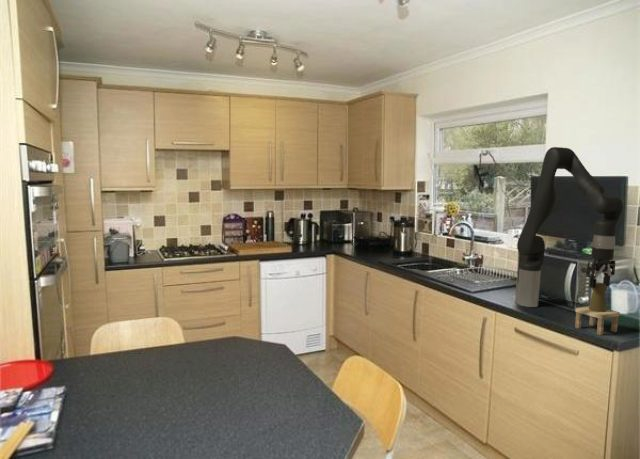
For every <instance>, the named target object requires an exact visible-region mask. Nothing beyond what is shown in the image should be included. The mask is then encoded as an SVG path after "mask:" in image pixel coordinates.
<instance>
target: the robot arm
mask: <svg viewBox="0 0 640 459" xmlns="http://www.w3.org/2000/svg"><path fill="white" fill-rule="evenodd" d="M557 170H565V171H567V172H568V173H569V174H571V175H572V177H573V179H574V184H575V186H576V188H577V189H578V190H579V191H580V192H581V194H583V195H584V196H585V198H586V199H587V202H588V203H589V206H590V207H591V209H592V210H593V211H594V212H596V213H597V214H599V215H603V217H602V218H601V219H598V220H596V222H595V224H594V232H593V233H594V234H593V238H592V247H591V255H590V256H591V258H593V261H588V262H587V265H586V266H587V267H586V274H585V277H587V278H589V284H588V285H589V288H591V289H592V288H596V283H597V278H598V276H599V275H601V274H602V275H603V280H602V283H604V284H606V286H607V287H609V286H610V283H611V278H612V276H615V272H616V260H614V257H615V246H616V230H617V229H616V228H617V225H618V222H619V221H620V220H619V219H620V216H621V215H622V212H623V209H624V205H623V204H624V203H623V201H622V199H621V198H620V197H619V196H618V195H617V196H616V195H604V193H605V188H604V186H603V185H602V184H601V183H600V182H599V181H598V180H597V179H596V178H595V177H594V176H592V175H591V173H590V172H589V171H588V170H587V168H586V167H585V166H584V165H583V163H582V162H581V160H580V158H579V157H578V155H577V154H576V152H574V150H572V149H571V148H569V147H561V146H559V147H557V146H553V147H550V148H549V149H547V151H546V152H545V155H544V158H543V162H542V166H541V172H540V176H539V180H538V183H537V187H536V191H535V193H534V196H533V199H532V202H531V206H530V209H529V212H528V215H527V218H526V222H525V223H524V226H523V228H522V230H521V233H520V235H519V238H518V240H517V244H516V249H517V252H518V253H519V254H520V255H522V256H526V258H525V259H523V260H522V261H521V262H520V263H519V272H518V282H517V283H516V286H515V287H516V288H515V304H517V305H519V306H521V307H525V308H526V307H527V308H537V307H538V306H539V298H540V297H539V296H540V287H541V286H540V285H541V273H542V272H541V271H542V270H541V269H542V267H543V264H544V259H545V250H546V244H545V240H544V238H543V237H542V236H540V235H537V233H538V231H539V229H540V228H541V226H542V225H544V223H545V222H546V221H547V220H548V218H550V216H551V215H552V213H553V212H554V208H555V206H556V203H557V192H556V188H555V177H556V174H557Z"/></svg>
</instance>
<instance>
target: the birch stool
mask: <svg viewBox="0 0 640 459" xmlns="http://www.w3.org/2000/svg"><path fill="white" fill-rule="evenodd" d="M583 315H586V316H588V317H589V320H588V321H589V323H588V325H590V326H595V325H597V326H596V335H598V336H603V334H604V325H605V319H610V318H611V326H610V331H611V332H612V333H616V332H618V326H619V325H618V324H619V317H620V315H621V314H620V311H617V310H612V309H609V308H606V312H596V311H591V310H589V305H586V306H585V305H584V306H580V307H575V320H574V321H575V324H574V328H576V329H581V328H582V318H583ZM596 318H597V324H596Z"/></svg>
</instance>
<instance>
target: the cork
mask: <svg viewBox="0 0 640 459" xmlns="http://www.w3.org/2000/svg"><path fill="white" fill-rule="evenodd" d="M591 289H592V294H591V297H590V302H589V305H588V306H589V310H591V311H596V312H606V309H607V307H606V305H607V304H606V292H607V289H608V286H606V284H604V283H603V282H599V281H598V282H596V288H591Z"/></svg>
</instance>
